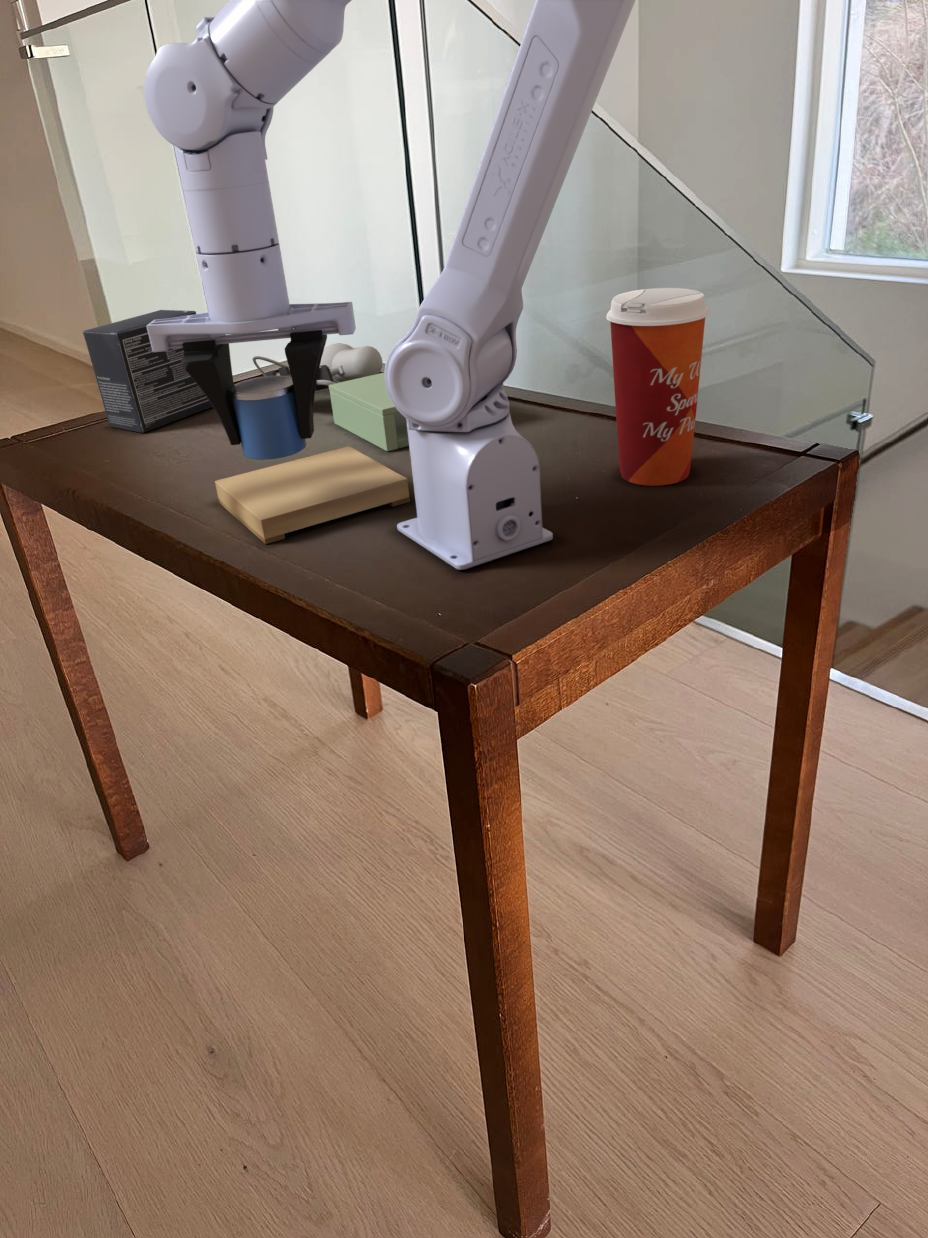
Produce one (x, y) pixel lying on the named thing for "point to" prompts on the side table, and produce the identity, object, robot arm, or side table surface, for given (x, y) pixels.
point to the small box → (141, 375)
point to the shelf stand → (369, 412)
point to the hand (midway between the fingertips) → (273, 437)
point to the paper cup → (656, 380)
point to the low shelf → (309, 492)
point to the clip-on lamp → (337, 365)
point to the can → (267, 417)
